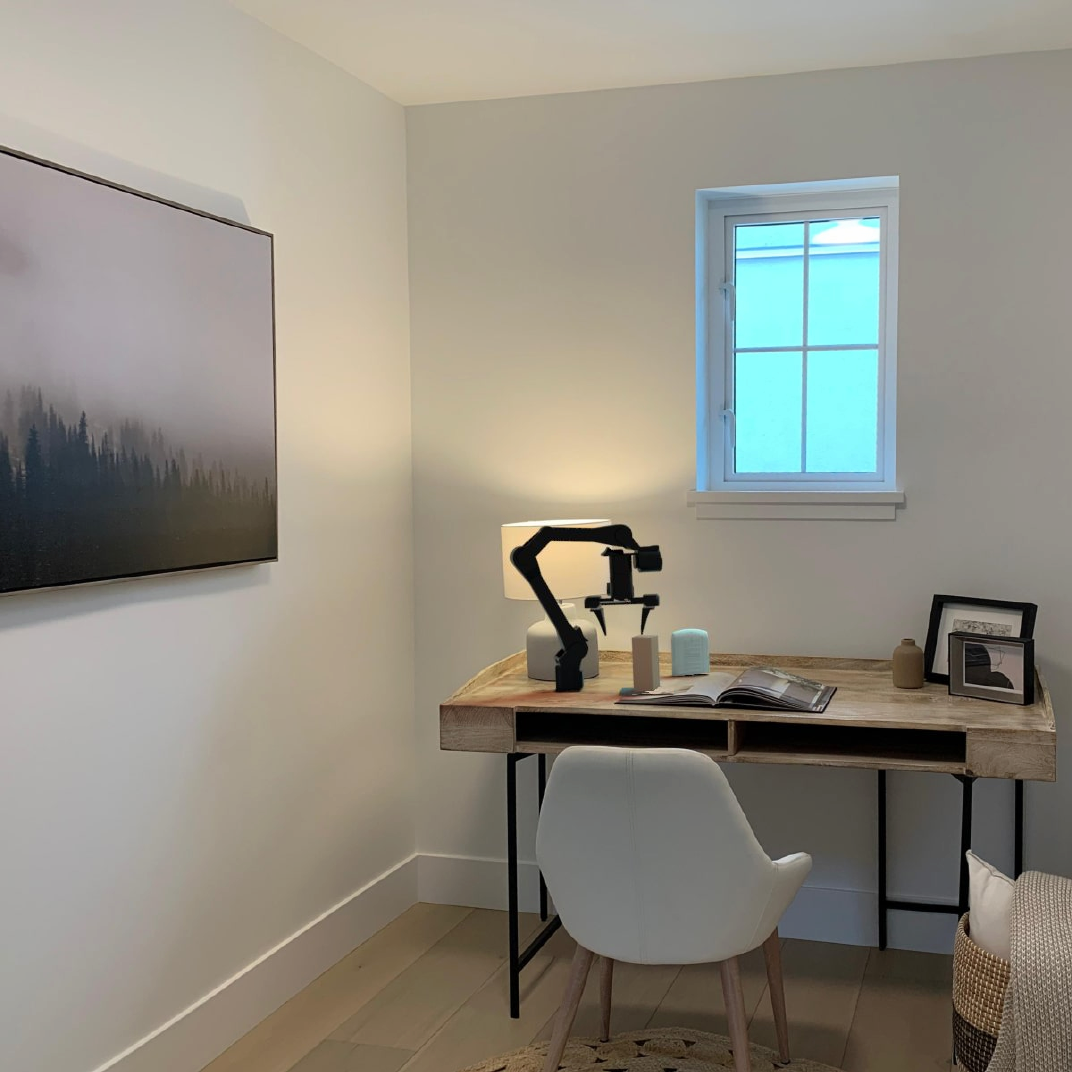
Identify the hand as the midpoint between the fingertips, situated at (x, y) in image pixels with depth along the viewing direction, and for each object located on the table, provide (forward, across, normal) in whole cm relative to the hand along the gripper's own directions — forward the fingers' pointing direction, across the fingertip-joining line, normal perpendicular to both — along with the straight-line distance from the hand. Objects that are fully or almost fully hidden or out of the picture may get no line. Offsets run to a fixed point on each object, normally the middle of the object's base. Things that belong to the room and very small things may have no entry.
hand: (623, 635), depth 302 cm
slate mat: (+13, -6, +10) cm, 17 cm away
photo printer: (+13, -16, -18) cm, 27 cm away
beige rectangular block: (+12, -6, +10) cm, 17 cm away
